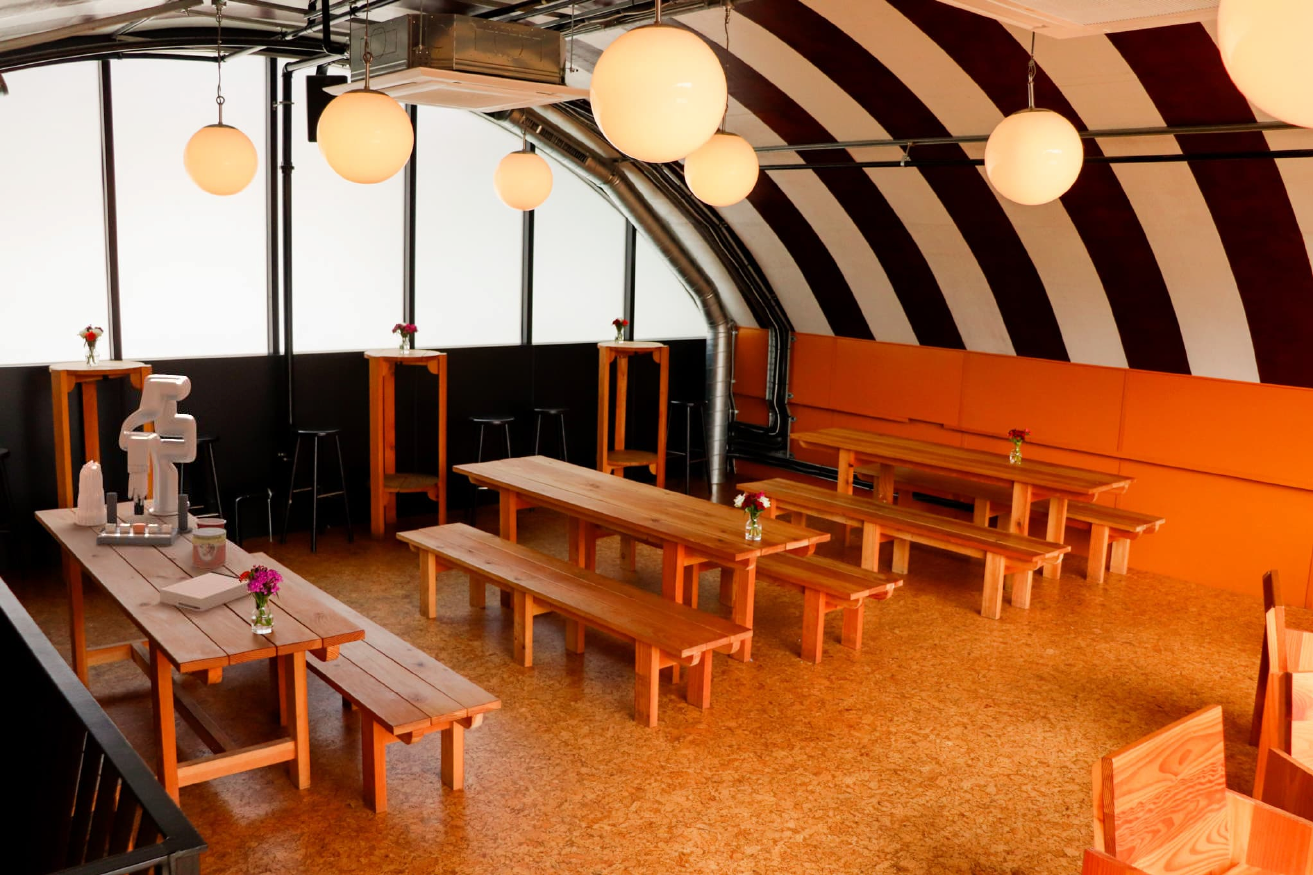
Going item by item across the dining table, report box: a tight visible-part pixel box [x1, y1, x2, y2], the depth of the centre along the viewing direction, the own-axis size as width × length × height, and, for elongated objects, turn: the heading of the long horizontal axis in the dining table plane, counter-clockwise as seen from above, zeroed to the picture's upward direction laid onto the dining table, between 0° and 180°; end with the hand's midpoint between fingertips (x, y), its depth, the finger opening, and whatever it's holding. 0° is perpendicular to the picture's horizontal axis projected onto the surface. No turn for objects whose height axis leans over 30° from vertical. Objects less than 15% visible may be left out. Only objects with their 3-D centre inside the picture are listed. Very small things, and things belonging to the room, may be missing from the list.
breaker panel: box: [96, 523, 181, 546], centre depth 401 cm, size 14×26×6 cm, turn 103°
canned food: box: [192, 528, 227, 569], centre depth 379 cm, size 11×11×12 cm
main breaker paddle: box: [132, 522, 147, 532], centre depth 401 cm, size 2×4×3 cm, turn 103°
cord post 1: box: [101, 492, 120, 533], centre depth 410 cm, size 7×7×15 cm
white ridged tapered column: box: [75, 459, 107, 527], centre depth 417 cm, size 11×11×25 cm
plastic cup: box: [194, 517, 227, 529], centre depth 394 cm, size 11×11×12 cm
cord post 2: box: [177, 493, 193, 535], centre depth 416 cm, size 7×7×15 cm
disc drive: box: [159, 571, 250, 612], centre depth 345 cm, size 18×22×5 cm
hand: (139, 514), depth 400 cm, fingers closed
